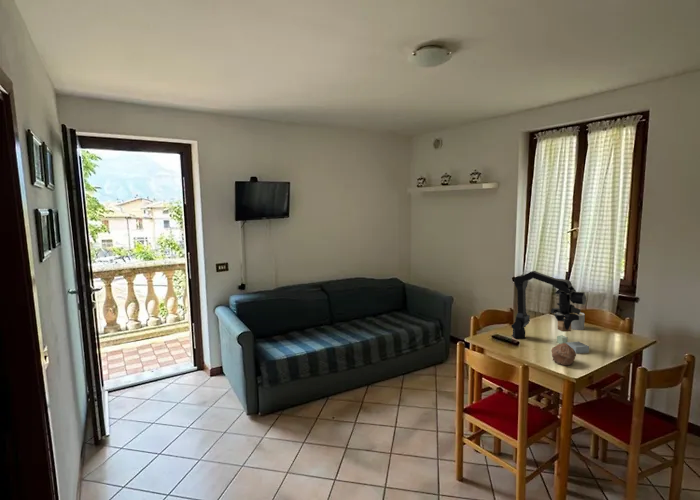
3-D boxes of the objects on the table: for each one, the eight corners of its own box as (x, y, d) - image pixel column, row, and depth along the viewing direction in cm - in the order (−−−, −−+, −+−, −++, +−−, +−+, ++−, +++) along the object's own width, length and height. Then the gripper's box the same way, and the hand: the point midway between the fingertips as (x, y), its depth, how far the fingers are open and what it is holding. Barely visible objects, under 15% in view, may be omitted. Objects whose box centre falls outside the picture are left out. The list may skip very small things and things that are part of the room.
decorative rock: (556, 356, 209) (557, 338, 208) (579, 362, 201) (580, 344, 200) (546, 363, 201) (547, 344, 200) (569, 369, 192) (570, 350, 191)
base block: (575, 354, 213) (576, 347, 213) (565, 349, 221) (566, 342, 220) (588, 353, 214) (589, 346, 214) (578, 348, 222) (578, 341, 222)
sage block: (562, 344, 228) (562, 338, 228) (556, 342, 232) (556, 335, 231) (567, 343, 229) (567, 337, 229) (561, 341, 233) (562, 335, 233)
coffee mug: (586, 327, 259) (586, 313, 258) (581, 331, 252) (582, 316, 251) (564, 323, 268) (565, 309, 267) (559, 326, 262) (560, 312, 261)
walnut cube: (562, 331, 218) (562, 323, 217) (557, 329, 223) (557, 320, 222) (571, 331, 218) (571, 322, 218) (565, 328, 223) (566, 320, 223)
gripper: (588, 305, 210) (588, 332, 211) (568, 298, 229) (568, 323, 230) (569, 305, 210) (568, 333, 211) (550, 298, 228) (550, 324, 229)
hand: (564, 328), depth 220 cm, fingers closed on walnut cube, 5 cm apart
